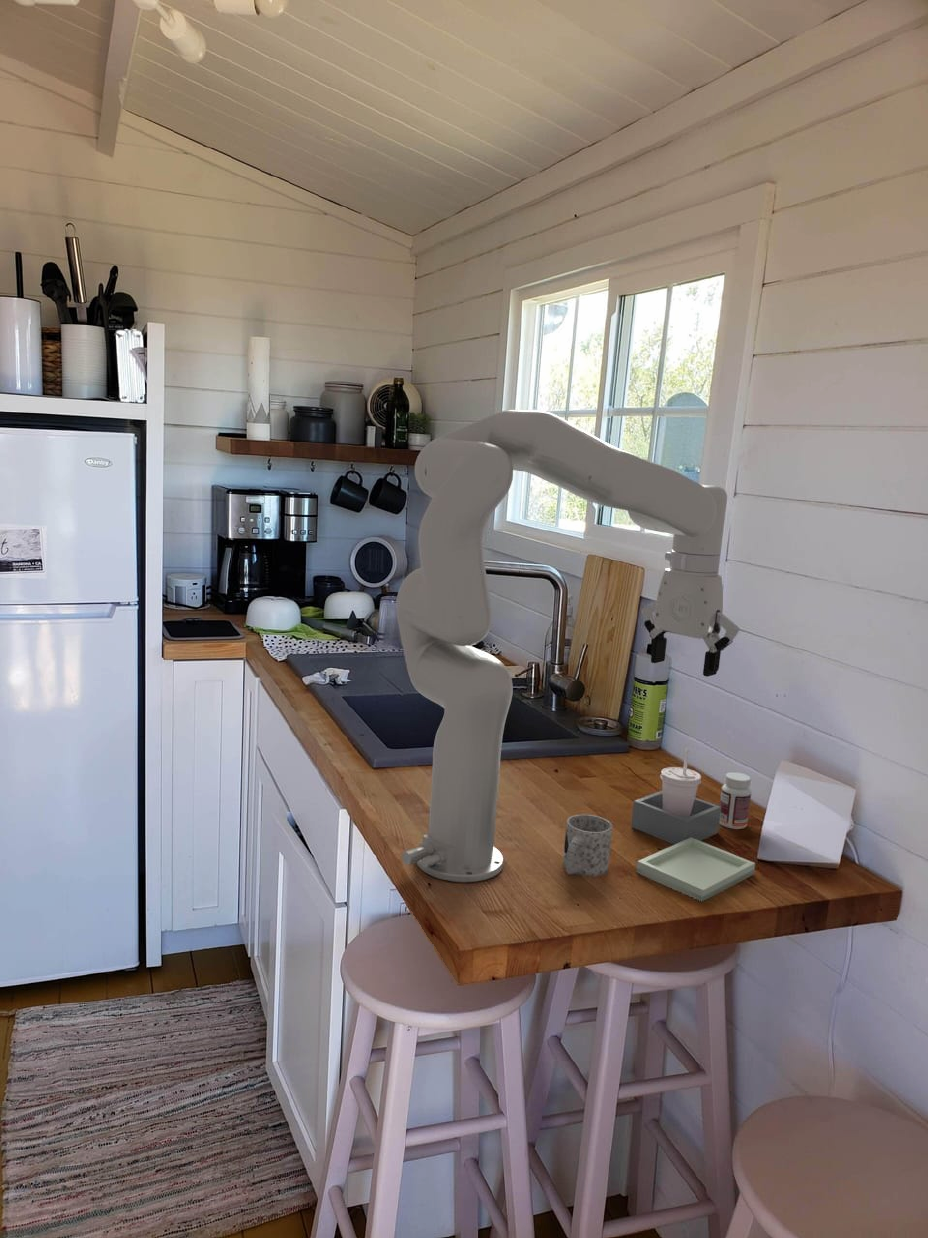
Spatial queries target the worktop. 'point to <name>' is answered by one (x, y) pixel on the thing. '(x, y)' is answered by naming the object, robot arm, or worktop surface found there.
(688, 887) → the tray
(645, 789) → the worktop surface
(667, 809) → the smoothie
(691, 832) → the grey square tube frame
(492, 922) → the worktop surface
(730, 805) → the pill bottle
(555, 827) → the worktop surface
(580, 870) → the mug
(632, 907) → the worktop surface
